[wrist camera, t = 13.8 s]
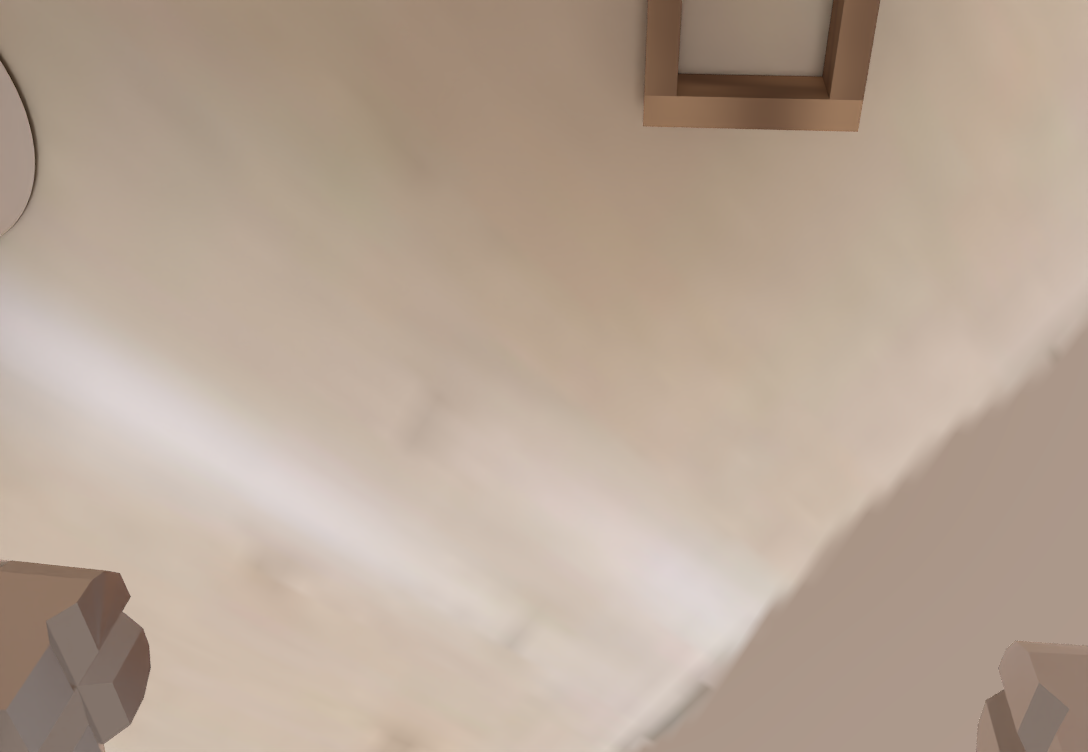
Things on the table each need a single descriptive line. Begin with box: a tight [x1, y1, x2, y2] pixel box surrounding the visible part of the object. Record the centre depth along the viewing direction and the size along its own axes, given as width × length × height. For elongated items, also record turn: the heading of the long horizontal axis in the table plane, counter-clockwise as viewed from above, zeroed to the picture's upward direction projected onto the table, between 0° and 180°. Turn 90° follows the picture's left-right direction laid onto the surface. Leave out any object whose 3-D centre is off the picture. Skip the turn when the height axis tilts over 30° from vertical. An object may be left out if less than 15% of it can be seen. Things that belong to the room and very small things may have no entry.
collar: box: [643, 0, 880, 132], centre depth 36 cm, size 8×8×2 cm
